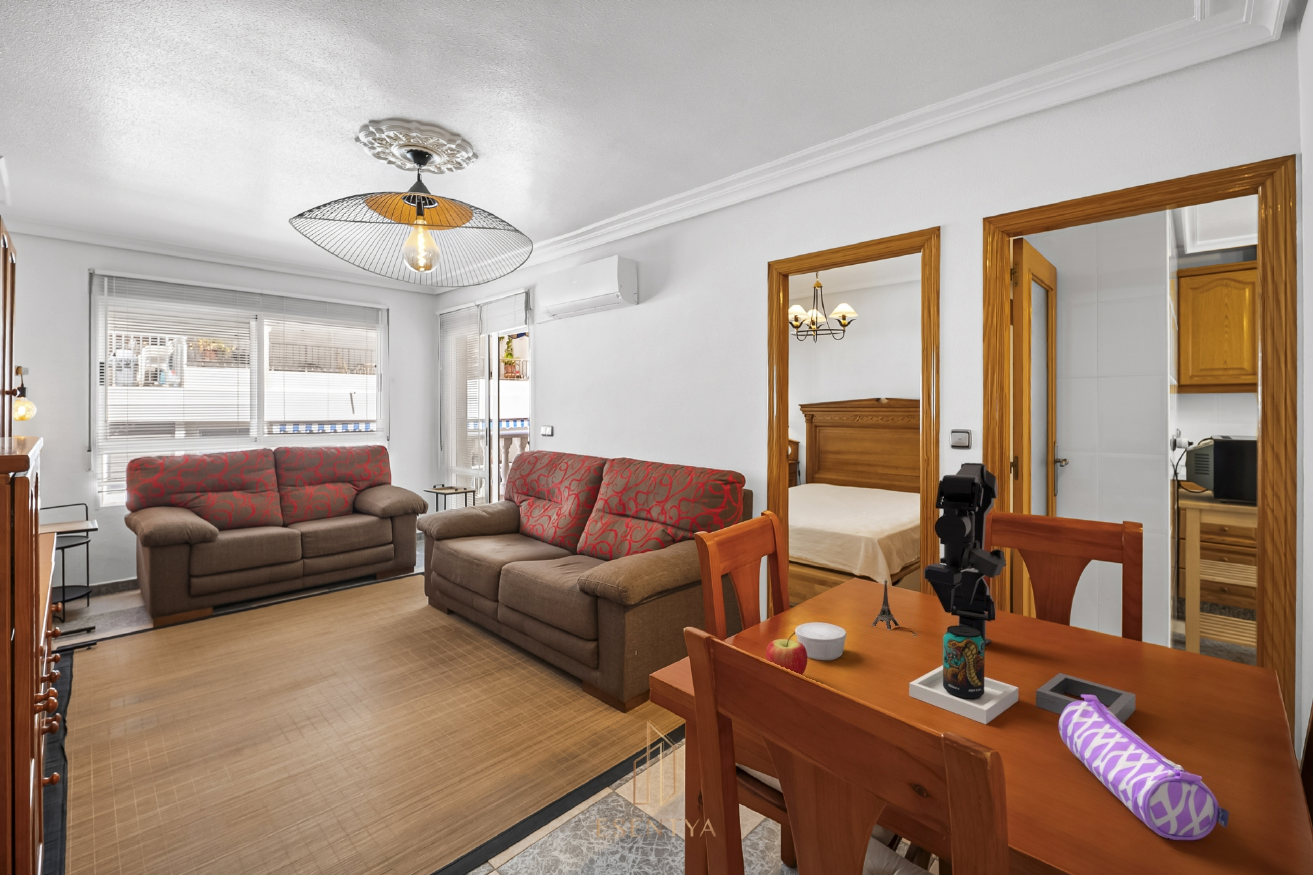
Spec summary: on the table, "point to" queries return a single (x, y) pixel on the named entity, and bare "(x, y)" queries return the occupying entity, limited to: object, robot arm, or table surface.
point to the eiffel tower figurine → (886, 612)
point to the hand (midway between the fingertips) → (958, 608)
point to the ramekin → (821, 640)
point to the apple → (788, 654)
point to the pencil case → (1139, 773)
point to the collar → (1060, 684)
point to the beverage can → (963, 662)
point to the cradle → (979, 709)
